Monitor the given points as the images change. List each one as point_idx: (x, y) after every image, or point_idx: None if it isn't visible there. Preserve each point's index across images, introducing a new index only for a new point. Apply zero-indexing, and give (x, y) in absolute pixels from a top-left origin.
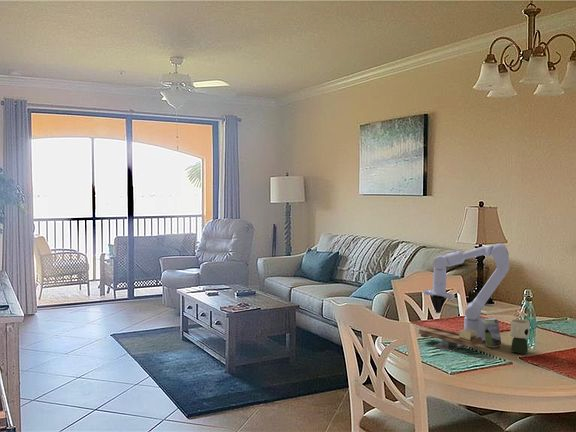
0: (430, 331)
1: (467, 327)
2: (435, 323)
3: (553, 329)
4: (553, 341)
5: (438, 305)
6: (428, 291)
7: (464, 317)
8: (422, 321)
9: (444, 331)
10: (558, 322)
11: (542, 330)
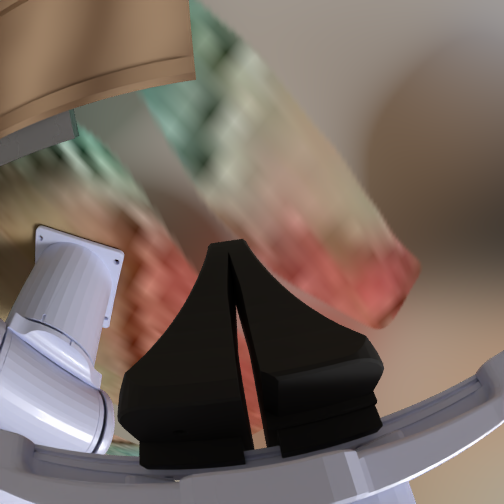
0: (119, 5)
1: (39, 283)
2: (354, 317)
3: (114, 445)
4: None
5: (196, 302)
6: (483, 430)
7: (62, 339)
8: (404, 296)
9: (45, 96)
10: None
11: (113, 436)
